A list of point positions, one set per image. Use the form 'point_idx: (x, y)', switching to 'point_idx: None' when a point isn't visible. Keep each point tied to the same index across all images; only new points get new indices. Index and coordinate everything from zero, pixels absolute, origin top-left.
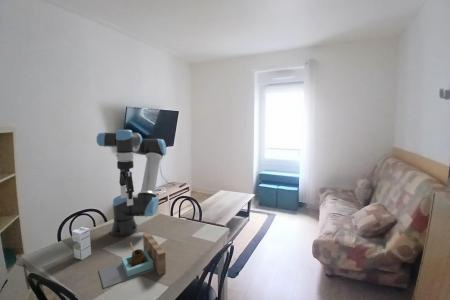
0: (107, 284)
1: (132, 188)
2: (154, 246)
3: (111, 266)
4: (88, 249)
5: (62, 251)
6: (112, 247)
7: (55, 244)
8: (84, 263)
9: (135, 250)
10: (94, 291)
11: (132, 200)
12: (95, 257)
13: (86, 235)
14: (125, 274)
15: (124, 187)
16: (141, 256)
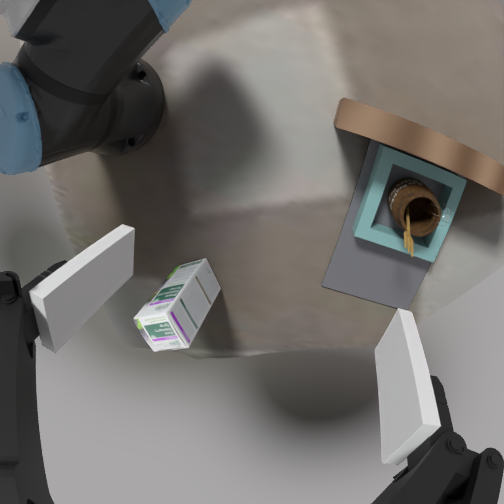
0: (404, 299)
1: (489, 495)
2: (481, 177)
3: (335, 254)
4: (203, 277)
5: (137, 296)
6: (210, 190)
7: None
8: (245, 290)
9: (403, 213)
10: None
11: (417, 347)
12: (235, 257)
13: (183, 312)
14: None
15: (61, 306)
16: (435, 207)
